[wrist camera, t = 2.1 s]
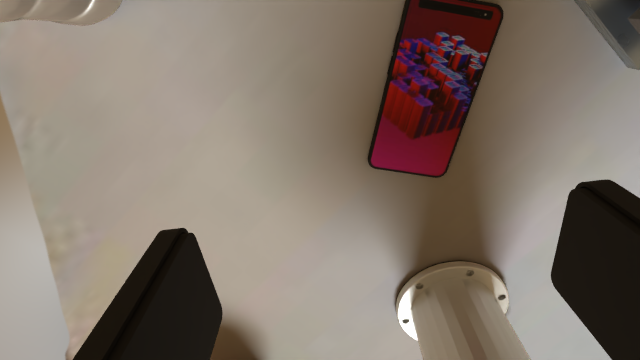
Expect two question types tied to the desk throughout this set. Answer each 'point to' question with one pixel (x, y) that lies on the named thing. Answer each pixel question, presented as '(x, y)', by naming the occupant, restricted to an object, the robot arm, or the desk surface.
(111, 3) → the plastic bottle
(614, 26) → the bracket stand
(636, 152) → the desk surface
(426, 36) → the smartphone
